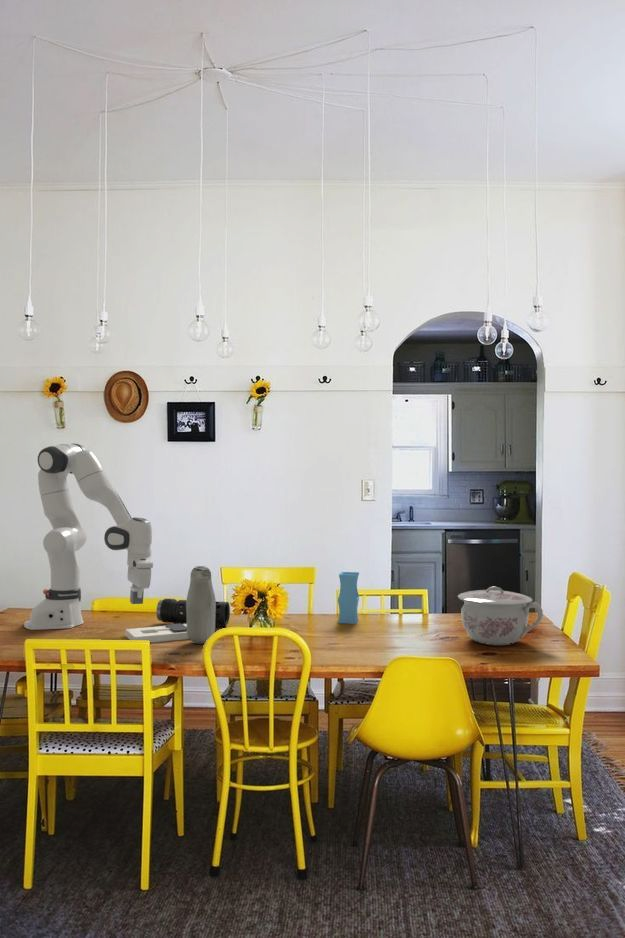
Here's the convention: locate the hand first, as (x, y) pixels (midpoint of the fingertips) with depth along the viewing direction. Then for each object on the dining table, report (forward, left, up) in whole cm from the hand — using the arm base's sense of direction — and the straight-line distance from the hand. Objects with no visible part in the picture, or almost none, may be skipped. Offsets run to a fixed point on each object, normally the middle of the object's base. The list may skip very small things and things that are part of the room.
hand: (137, 596), depth 311 cm
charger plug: (0, 0, -3) cm, 3 cm away
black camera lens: (+23, +3, -14) cm, 28 cm away
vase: (+84, -15, -14) cm, 87 cm away
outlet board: (+6, -12, -14) cm, 19 cm away
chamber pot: (+117, -68, -14) cm, 136 cm away
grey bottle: (+16, -27, -14) cm, 34 cm away
